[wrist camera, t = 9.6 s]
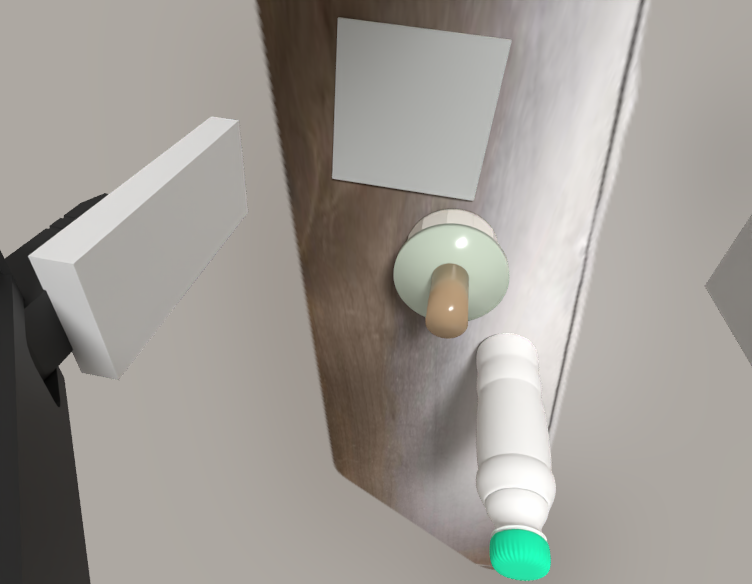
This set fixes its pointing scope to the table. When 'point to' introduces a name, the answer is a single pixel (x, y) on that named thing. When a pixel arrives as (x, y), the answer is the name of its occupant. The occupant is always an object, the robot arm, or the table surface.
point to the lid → (451, 276)
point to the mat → (414, 106)
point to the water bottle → (513, 455)
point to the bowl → (454, 221)
